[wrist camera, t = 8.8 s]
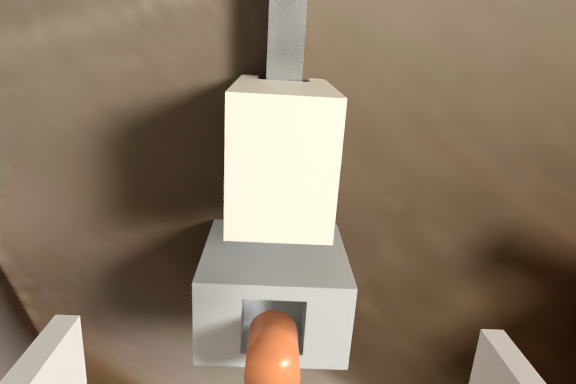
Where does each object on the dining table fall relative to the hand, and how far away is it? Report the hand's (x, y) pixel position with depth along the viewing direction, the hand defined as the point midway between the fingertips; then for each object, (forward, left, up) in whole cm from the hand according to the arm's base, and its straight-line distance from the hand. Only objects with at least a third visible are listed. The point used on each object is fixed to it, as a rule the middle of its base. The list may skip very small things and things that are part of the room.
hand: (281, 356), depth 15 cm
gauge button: (+7, 0, -11) cm, 13 cm away
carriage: (-3, 0, -21) cm, 22 cm away
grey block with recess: (+7, 0, -21) cm, 23 cm away
